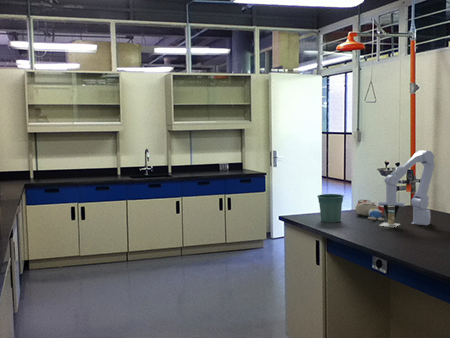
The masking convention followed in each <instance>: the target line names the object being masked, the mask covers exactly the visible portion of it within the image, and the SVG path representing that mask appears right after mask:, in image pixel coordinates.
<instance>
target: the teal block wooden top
mask: <svg viewBox="0 0 450 338" xmlns="http://www.w3.org/2000/svg"><path fill="white" fill-rule="evenodd" d="M394 215H395V209H394V210H389V209H388V218H387V223H388V224H394V223H395V218H394Z"/></svg>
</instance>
